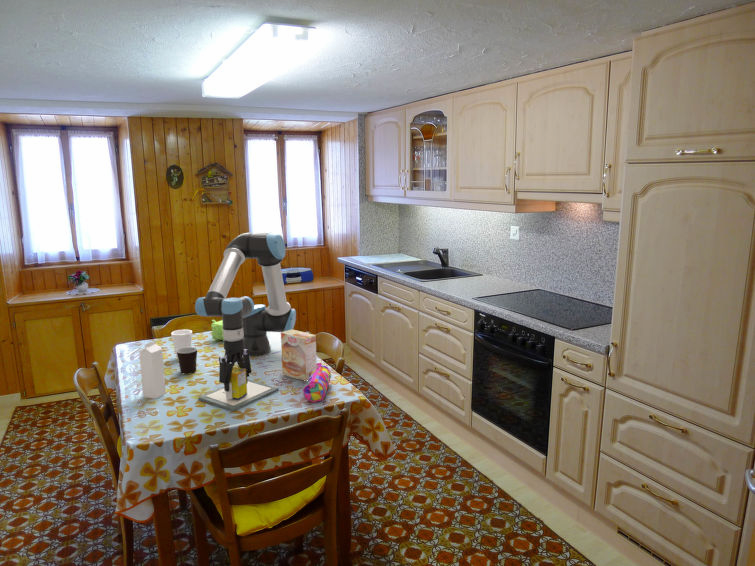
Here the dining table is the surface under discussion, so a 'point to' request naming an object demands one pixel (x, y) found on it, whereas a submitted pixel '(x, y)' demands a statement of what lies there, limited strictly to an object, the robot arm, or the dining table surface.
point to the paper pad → (253, 394)
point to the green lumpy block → (217, 330)
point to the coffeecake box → (298, 354)
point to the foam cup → (181, 339)
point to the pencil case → (317, 383)
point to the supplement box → (238, 383)
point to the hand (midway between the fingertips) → (236, 395)
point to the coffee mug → (187, 359)
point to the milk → (152, 371)
